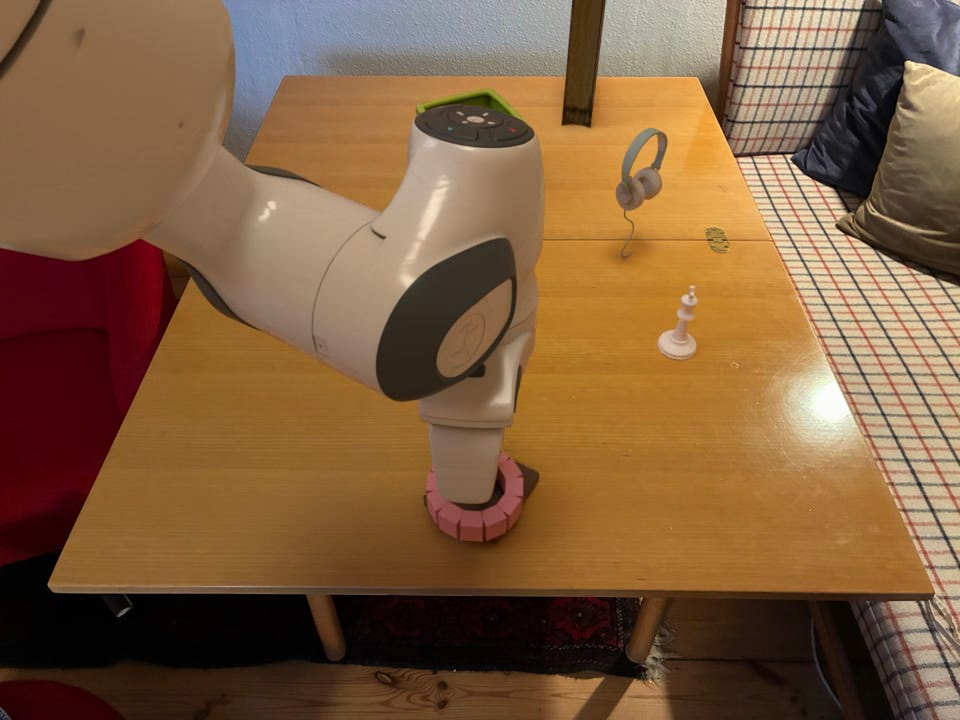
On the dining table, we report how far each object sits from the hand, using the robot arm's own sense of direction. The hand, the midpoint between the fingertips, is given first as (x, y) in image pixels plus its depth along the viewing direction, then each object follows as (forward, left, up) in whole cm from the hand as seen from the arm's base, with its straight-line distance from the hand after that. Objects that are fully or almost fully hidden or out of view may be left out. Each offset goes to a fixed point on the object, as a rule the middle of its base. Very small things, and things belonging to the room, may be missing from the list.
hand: (477, 439), depth 61 cm
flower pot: (+55, +35, -15) cm, 67 cm away
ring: (+2, +2, -14) cm, 14 cm away
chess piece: (+36, -8, -15) cm, 40 cm away
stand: (+4, +2, -15) cm, 16 cm away
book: (+89, +31, -15) cm, 95 cm away
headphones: (+50, +5, -15) cm, 52 cm away
